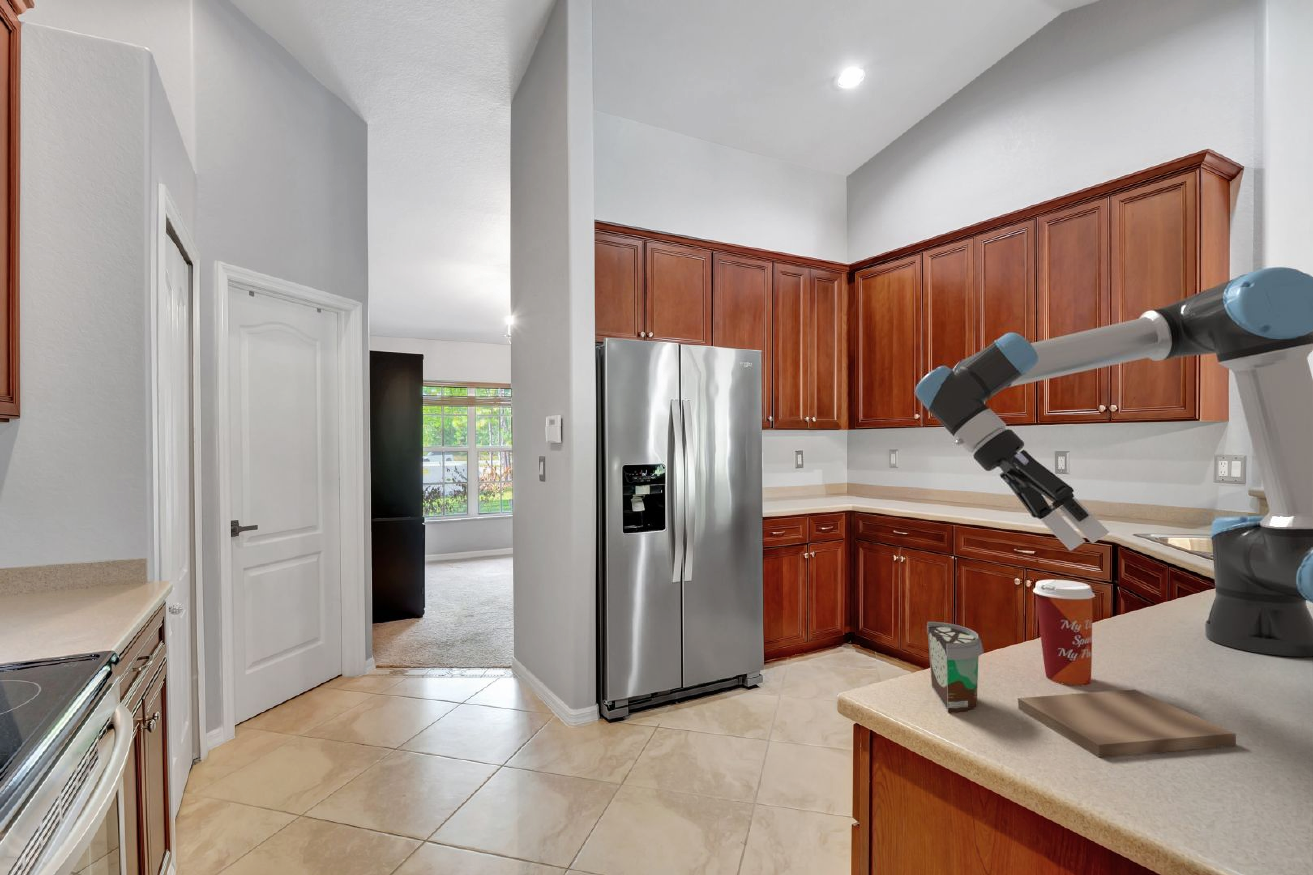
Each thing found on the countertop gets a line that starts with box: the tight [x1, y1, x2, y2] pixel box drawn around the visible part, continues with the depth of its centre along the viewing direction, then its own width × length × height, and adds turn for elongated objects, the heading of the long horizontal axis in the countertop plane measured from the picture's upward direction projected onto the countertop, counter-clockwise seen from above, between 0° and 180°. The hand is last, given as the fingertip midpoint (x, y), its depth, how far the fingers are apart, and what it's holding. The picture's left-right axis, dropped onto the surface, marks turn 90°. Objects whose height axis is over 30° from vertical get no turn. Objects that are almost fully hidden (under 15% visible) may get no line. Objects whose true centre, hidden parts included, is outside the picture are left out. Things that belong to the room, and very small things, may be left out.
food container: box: [926, 621, 985, 714], centre depth 89 cm, size 12×6×10 cm, turn 168°
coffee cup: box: [1032, 579, 1096, 686], centre depth 96 cm, size 8×8×15 cm
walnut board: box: [1017, 689, 1237, 758], centre depth 80 cm, size 18×14×2 cm
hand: (1088, 542), depth 96 cm, fingers open, 13 cm apart
